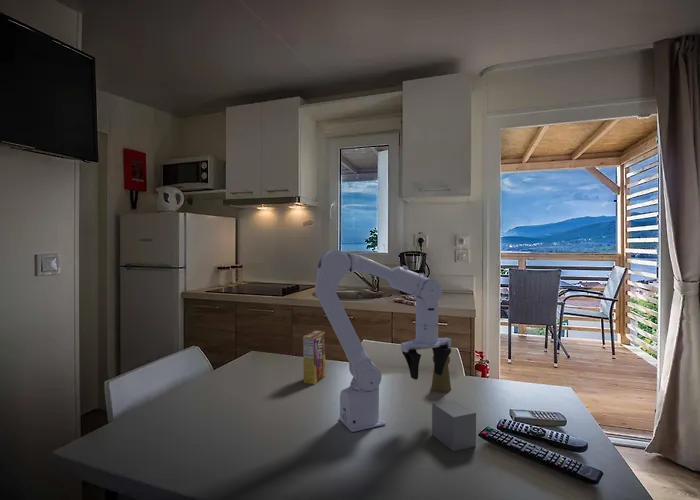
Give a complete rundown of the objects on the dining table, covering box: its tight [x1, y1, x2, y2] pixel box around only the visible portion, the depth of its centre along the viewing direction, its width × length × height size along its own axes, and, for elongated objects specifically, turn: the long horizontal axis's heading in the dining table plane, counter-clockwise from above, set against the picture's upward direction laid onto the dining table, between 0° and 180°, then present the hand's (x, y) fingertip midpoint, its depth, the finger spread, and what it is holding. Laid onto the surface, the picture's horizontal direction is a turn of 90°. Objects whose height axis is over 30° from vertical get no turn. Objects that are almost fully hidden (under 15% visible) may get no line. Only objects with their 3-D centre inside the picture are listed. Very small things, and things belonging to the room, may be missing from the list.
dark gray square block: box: [431, 399, 477, 452], centre depth 87 cm, size 6×8×7 cm
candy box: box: [302, 330, 327, 385], centre depth 126 cm, size 9×4×15 cm, turn 160°
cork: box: [430, 354, 452, 393], centre depth 118 cm, size 6×6×11 cm
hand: (426, 376), depth 99 cm, fingers open, 7 cm apart
